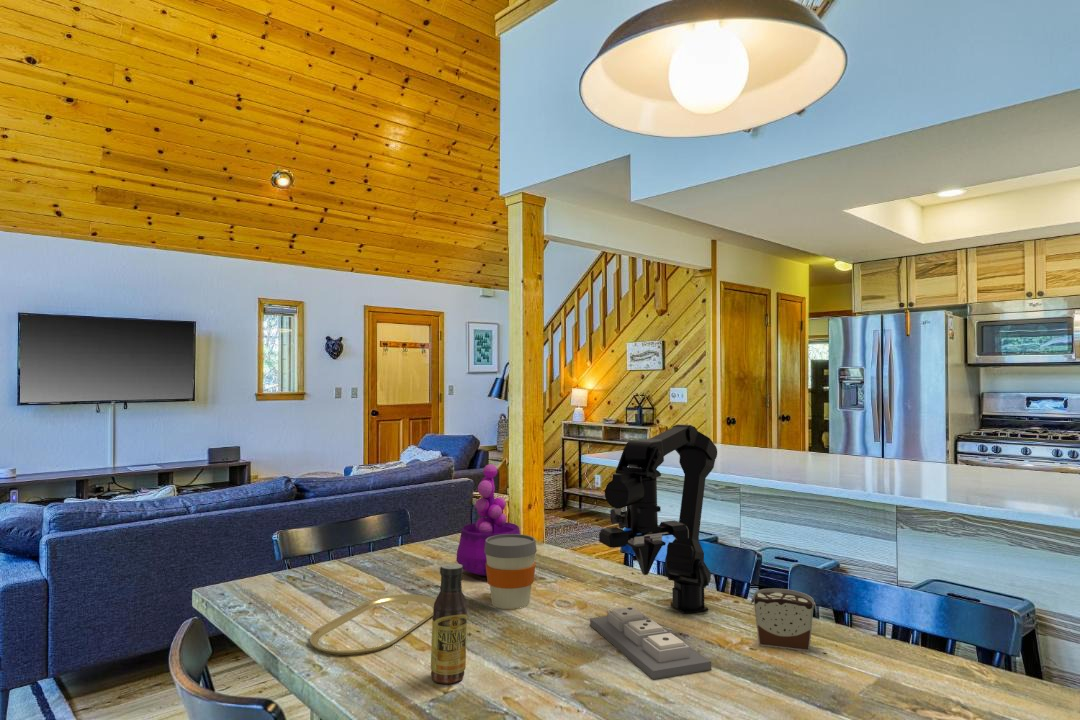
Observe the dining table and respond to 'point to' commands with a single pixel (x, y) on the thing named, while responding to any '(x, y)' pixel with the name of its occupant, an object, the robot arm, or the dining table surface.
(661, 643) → the tile one dot
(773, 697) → the dining table surface
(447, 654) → the sauce bottle
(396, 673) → the dining table surface
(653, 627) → the tile three dots
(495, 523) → the decorative plant
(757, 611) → the food container
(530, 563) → the reusable coffee cup
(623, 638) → the button panel
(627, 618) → the tile two dots
